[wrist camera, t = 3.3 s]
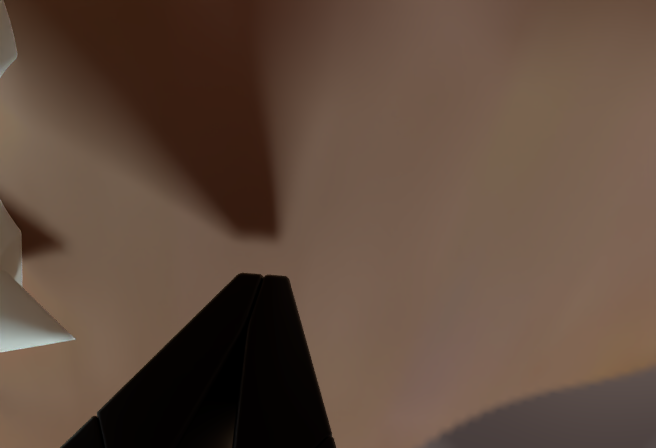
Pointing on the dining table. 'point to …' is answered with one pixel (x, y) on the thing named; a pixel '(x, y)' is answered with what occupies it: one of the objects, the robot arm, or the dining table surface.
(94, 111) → the dining table surface
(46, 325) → the white spiky piece
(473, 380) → the dining table surface
